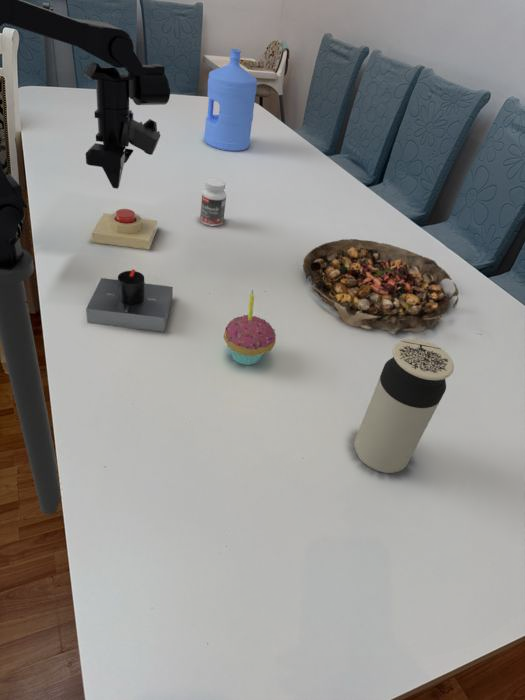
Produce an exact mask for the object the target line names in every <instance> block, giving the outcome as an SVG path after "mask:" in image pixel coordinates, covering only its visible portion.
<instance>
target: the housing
mask: <svg viewBox="0 0 525 700" xmlns="http://www.w3.org/2000/svg"><path fill="white" fill-rule="evenodd" d="M157 230H158V220H157V219H150V218H142V217H141V215H139V214H137V213H135V222H133V223H128V224H125V223H119V222H117V221H116V212H114V213H111V214H110V213H107V212H106V213H102V215H101V217H100V218H99V220H98V222H97V223H96V225H95V227H94V229H93V230H92V232H91V239H92V240H91V241H92V243H94V244H95V243H96V244H101V245H112V246H119V247H126V248H133V249H139V250H140V249H141V250H150V249H151V246H152V243H153V242H154V239H155V236H156V233H157Z"/></svg>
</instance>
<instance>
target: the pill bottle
mask: <svg viewBox="0 0 525 700" xmlns="http://www.w3.org/2000/svg"><path fill="white" fill-rule="evenodd" d="M204 182H205V183H204V187H205V188H204V189H203V190H202V193H201V203H200V204H201V205H200V222H201V223H203V224H204V225H207V226H210V227H218V226H221V225H223V223H224V220H225V212H226V211H225V210H226V202H227V193H226V191H225V190H226V182H225V181H224V180H223V179H219V178H215V177H214V178H213V177H212V178H207V179H205V181H204Z"/></svg>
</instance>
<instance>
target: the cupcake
mask: <svg viewBox="0 0 525 700" xmlns="http://www.w3.org/2000/svg"><path fill="white" fill-rule="evenodd" d="M250 293H251V294H250V295H249V303H248V314H244V315H242V316H237V317H234V318H232V320H229V322H228V323H227V325H226V326H225V329H224V332H223V340H224V342H225V343H226V345H227V347H228V348H229V349H230V352H231V357H232V359H233V360H234V362H236V363H238V364H240V365H243V366H252V365H255V364H257V363H258V362H259V361H260V359H261V358H262V356H263V355H264V354H265V353H267V352H270V351H272V349H274V347H275V346H276V342H277V341H276V337H277V334H276V329H275V328H273V326H272V325H271V324H270V322H268V321H266V319H263V318H261V317H258V316H256V315H253V313H254V312H253V311H254V302H255V301H254V300H255V294H254V290H253V289H251V292H250Z"/></svg>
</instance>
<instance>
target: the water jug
mask: <svg viewBox="0 0 525 700" xmlns="http://www.w3.org/2000/svg"><path fill="white" fill-rule="evenodd" d="M241 53H242V50H239V49H237V48H236V49H235V48H230V55H229V63H228V64H226V65H224V66H221V67H218V68H215V69H213V70H210V71H209V72H208V79H207V95H206V96H207V97H208V103H207V115H206V117H205V122H204V133H203V140H204V142H205V143H206V144H207V145H208V146H209V147H212V148H215V149H217V150H223V151H228V152H230V151H231V152H240V151H244V150H246V149H248V148H249V146H250V145H251V144H250V143H251V132H252V125H253V121H254V120H253V119H254V109H255V101H256V94H257V89H258V88H257V87H258V86H257V84H258V79H257V78H256V76H255V77H254V76H253V75H252V74H251V73H249V72H248V71H247V70H245V68H243V67H242V66H241V64H240V60H241ZM215 102H217V103H218V106H219V108H218V114H214V104H215Z"/></svg>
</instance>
